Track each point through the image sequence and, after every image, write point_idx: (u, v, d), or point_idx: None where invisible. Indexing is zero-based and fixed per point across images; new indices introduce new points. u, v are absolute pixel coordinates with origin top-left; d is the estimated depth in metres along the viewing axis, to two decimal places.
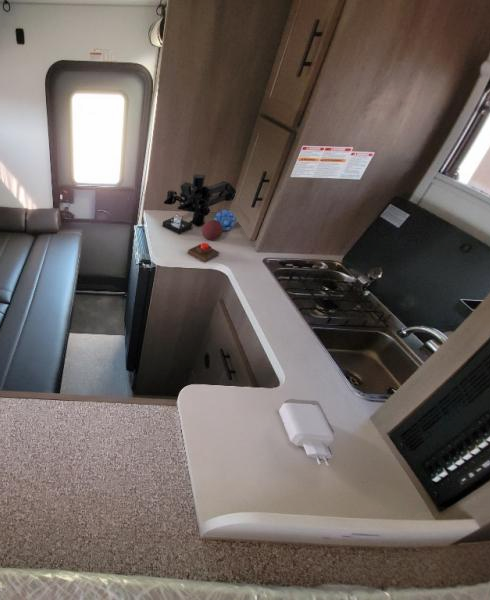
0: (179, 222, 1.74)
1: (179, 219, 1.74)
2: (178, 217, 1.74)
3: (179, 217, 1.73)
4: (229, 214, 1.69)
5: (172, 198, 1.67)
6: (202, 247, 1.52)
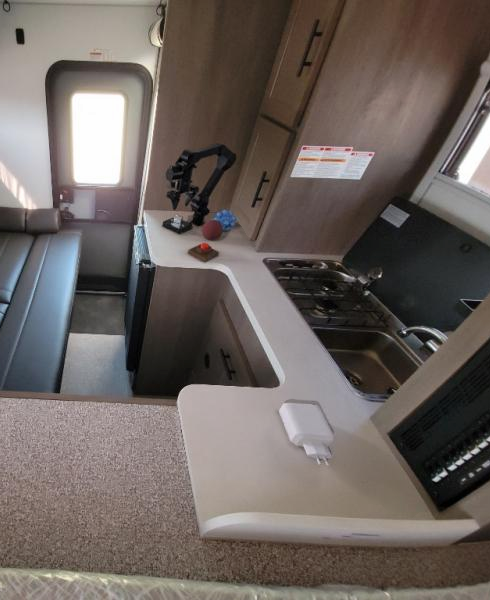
0: (179, 222, 1.74)
1: (179, 219, 1.74)
2: (178, 217, 1.74)
3: (179, 217, 1.73)
4: (229, 214, 1.69)
5: (188, 193, 1.70)
6: (202, 247, 1.52)
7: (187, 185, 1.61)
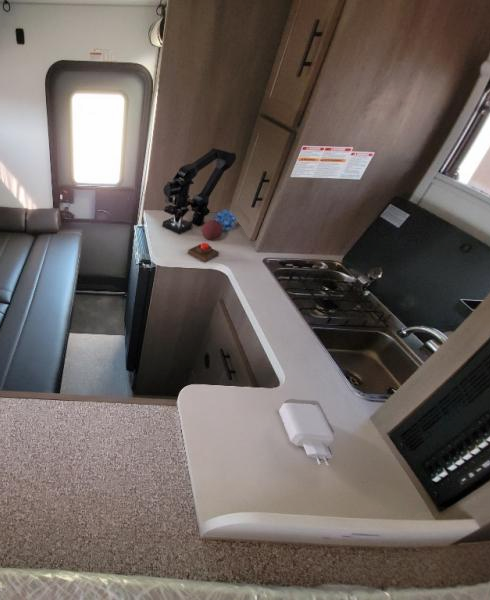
0: (179, 222, 1.74)
1: (179, 219, 1.74)
2: None
3: None
4: (229, 214, 1.69)
5: (181, 209, 1.73)
6: (202, 247, 1.52)
7: (184, 200, 1.66)
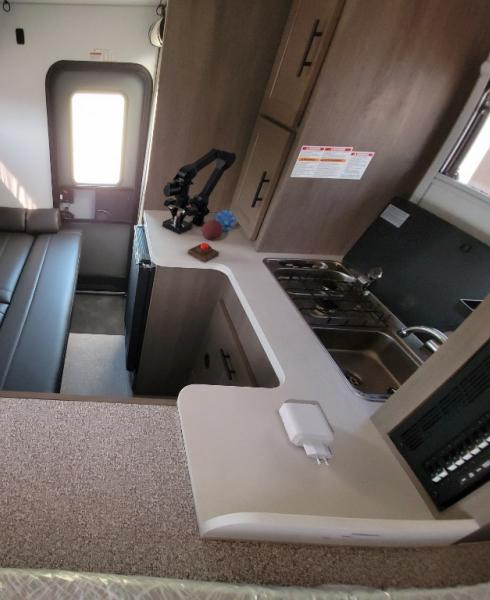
0: None
1: None
2: None
3: None
4: (229, 214, 1.69)
5: None
6: (202, 247, 1.52)
7: (176, 199, 1.67)
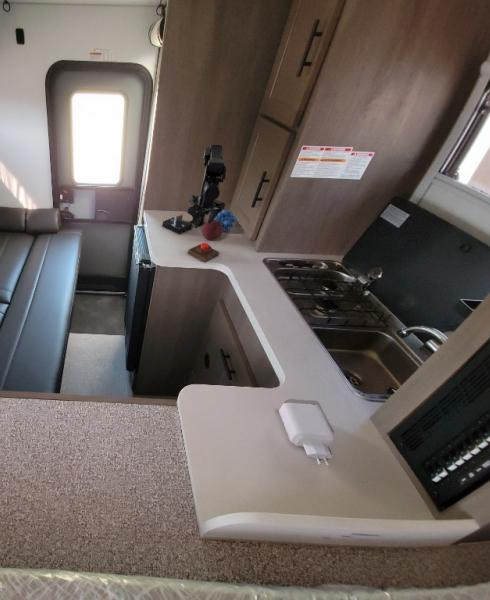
0: None
1: None
2: None
3: None
4: (229, 214, 1.69)
5: (212, 209, 1.50)
6: (202, 247, 1.52)
7: (212, 200, 1.42)
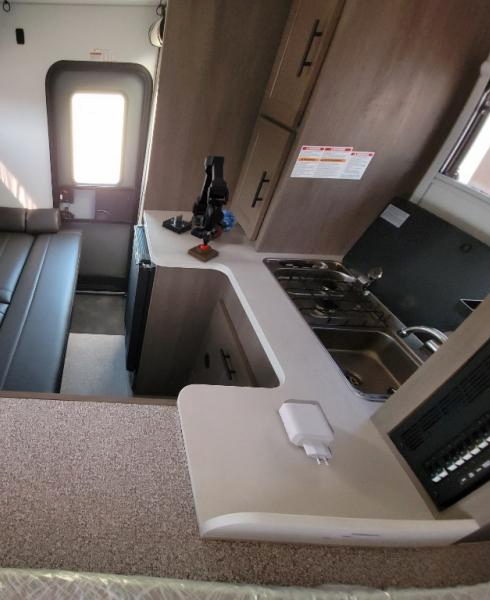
0: None
1: None
2: None
3: None
4: (229, 214, 1.69)
5: None
6: (202, 248, 1.52)
7: None
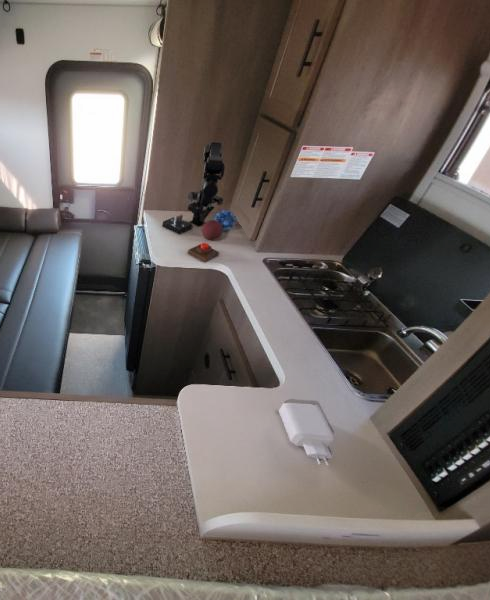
0: None
1: None
2: None
3: None
4: (229, 214, 1.69)
5: None
6: (202, 247, 1.52)
7: (211, 197, 1.46)
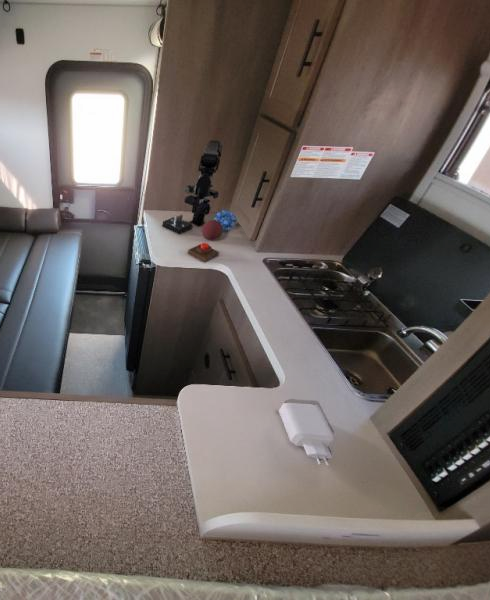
0: None
1: None
2: None
3: None
4: (229, 214, 1.69)
5: None
6: (202, 247, 1.52)
7: (207, 189, 1.51)
